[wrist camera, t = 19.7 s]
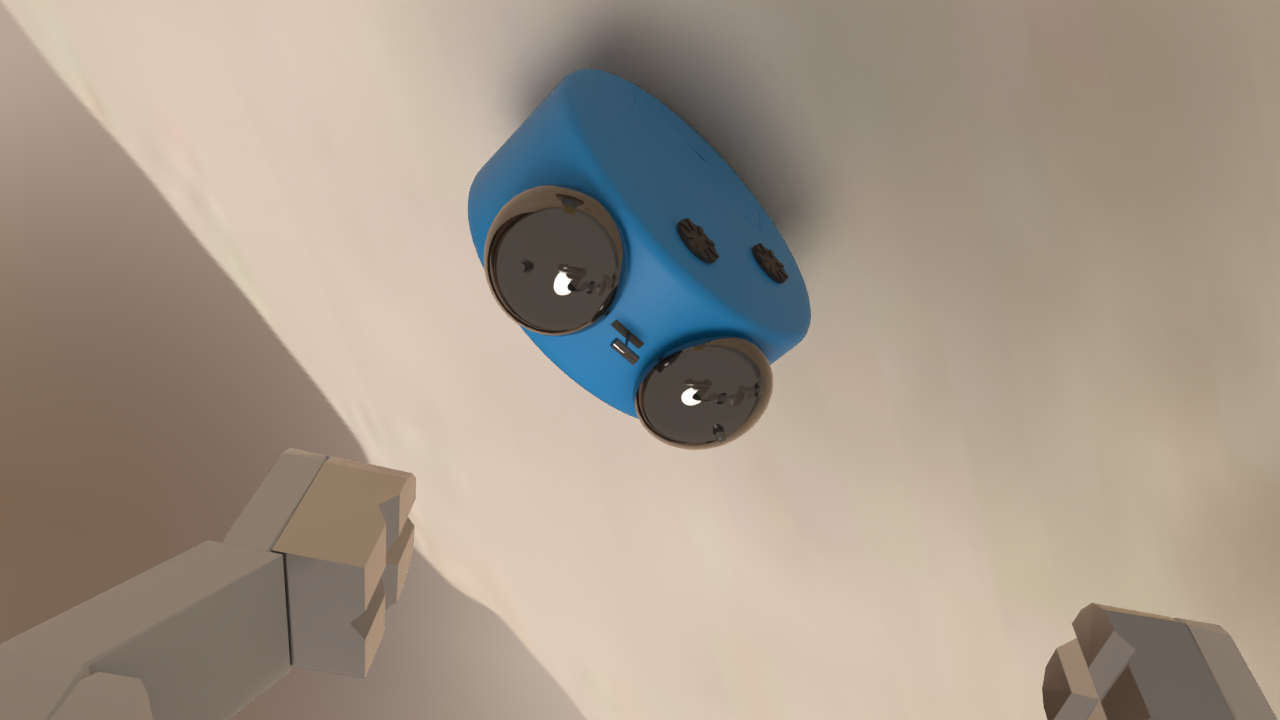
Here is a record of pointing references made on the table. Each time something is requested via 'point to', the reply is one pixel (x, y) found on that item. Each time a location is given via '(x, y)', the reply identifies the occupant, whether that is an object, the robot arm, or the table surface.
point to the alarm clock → (638, 261)
